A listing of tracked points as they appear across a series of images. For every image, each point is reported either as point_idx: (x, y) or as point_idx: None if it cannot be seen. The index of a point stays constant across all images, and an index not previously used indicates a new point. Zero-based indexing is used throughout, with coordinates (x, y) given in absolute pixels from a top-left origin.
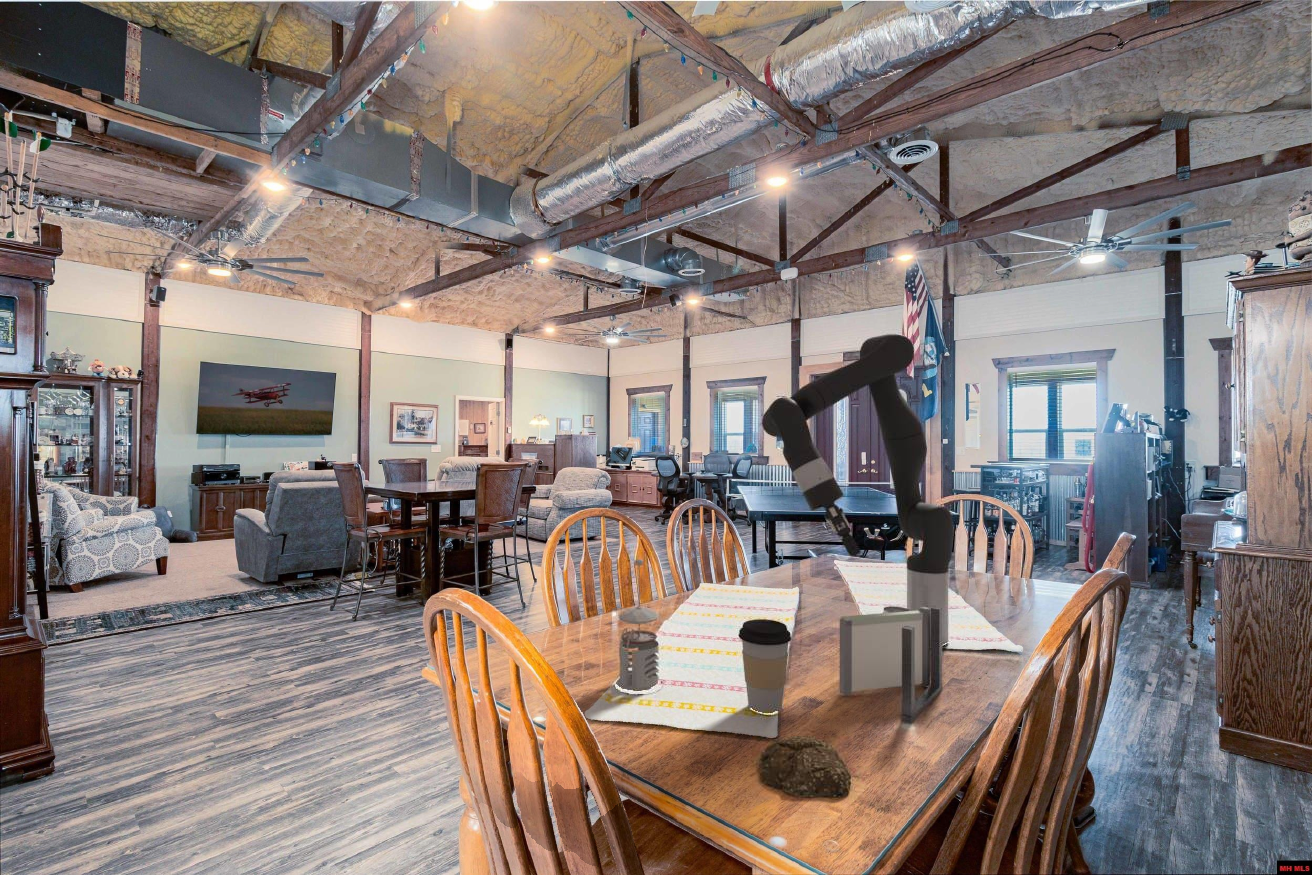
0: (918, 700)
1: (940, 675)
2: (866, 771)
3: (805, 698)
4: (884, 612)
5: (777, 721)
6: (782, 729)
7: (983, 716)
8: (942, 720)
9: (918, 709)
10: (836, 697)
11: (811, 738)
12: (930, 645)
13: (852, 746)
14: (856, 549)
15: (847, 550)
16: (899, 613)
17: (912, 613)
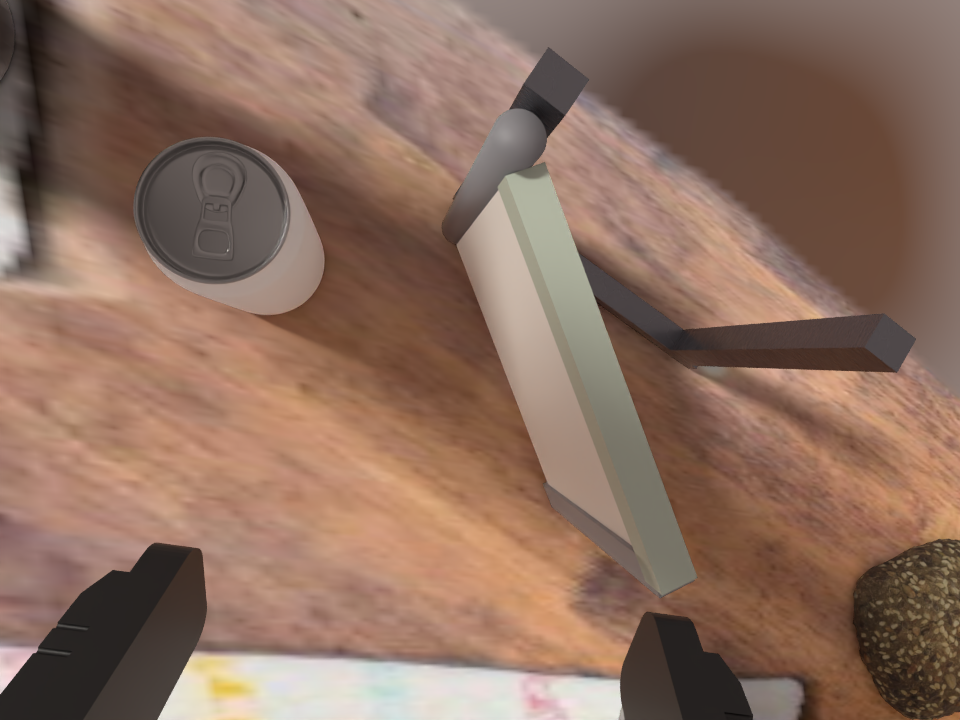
0: (602, 292)
1: None
2: (906, 498)
3: (585, 605)
4: (227, 284)
5: None
6: (763, 667)
7: (637, 140)
8: (672, 259)
9: (657, 311)
10: None
11: (945, 631)
12: (11, 47)
13: (818, 511)
14: (729, 678)
15: (175, 674)
16: (572, 290)
17: (564, 222)
